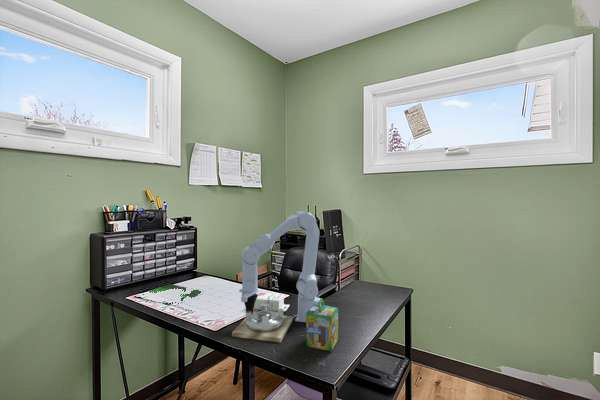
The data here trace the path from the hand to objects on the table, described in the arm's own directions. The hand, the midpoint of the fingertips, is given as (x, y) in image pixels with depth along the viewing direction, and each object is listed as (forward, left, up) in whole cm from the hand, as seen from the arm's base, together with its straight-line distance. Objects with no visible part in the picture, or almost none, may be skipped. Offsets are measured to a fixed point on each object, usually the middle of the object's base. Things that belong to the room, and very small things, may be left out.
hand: (249, 313), depth 109 cm
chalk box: (-29, +6, -5) cm, 30 cm away
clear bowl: (-6, 0, -3) cm, 7 cm away
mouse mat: (+52, -24, -6) cm, 58 cm away
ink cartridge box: (+5, -20, -2) cm, 21 cm away
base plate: (-6, 0, -5) cm, 8 cm away
